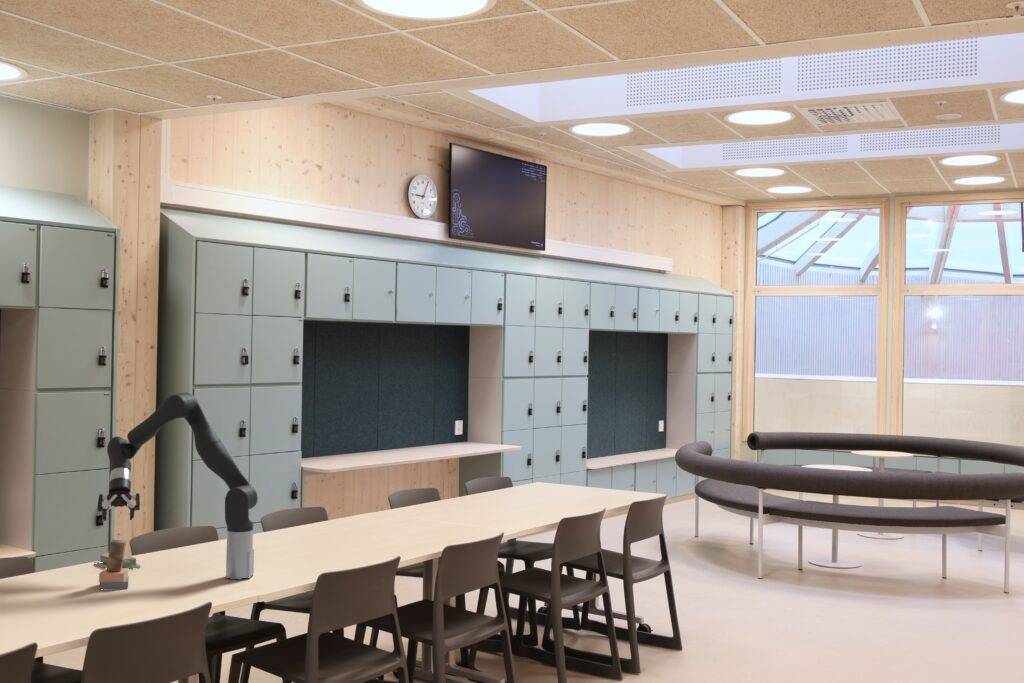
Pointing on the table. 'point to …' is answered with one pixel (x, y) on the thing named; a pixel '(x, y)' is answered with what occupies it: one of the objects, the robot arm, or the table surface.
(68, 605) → the table surface
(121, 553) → the brown block
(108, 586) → the lower slab
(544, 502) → the table surface
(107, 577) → the upper slab
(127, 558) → the packaged product
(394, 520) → the table surface
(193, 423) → the robot arm
